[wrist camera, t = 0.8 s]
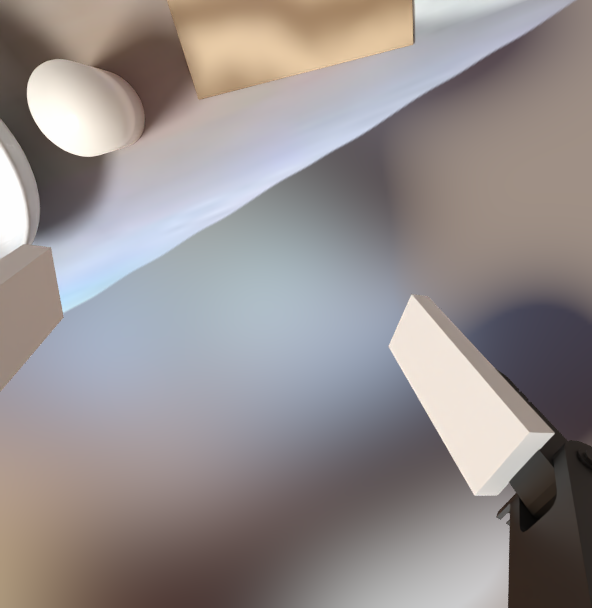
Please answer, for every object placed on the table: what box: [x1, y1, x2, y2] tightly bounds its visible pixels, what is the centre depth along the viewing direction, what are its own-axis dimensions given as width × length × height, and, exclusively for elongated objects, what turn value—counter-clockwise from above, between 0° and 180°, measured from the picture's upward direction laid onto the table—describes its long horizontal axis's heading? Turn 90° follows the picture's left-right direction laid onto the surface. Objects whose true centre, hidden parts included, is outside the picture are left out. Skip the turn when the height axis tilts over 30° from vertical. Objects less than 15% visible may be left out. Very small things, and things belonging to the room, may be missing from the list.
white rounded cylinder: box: [27, 59, 145, 157], centre depth 28 cm, size 6×6×7 cm
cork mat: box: [167, 0, 413, 100], centre depth 29 cm, size 9×21×1 cm, turn 102°
